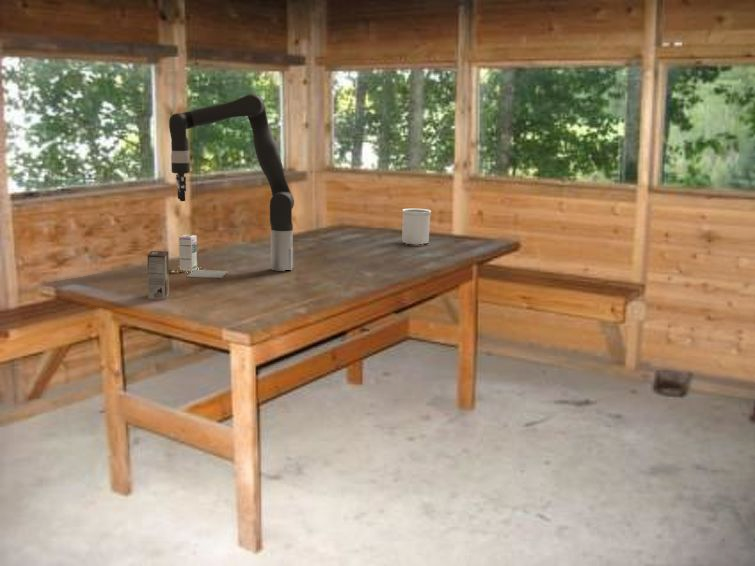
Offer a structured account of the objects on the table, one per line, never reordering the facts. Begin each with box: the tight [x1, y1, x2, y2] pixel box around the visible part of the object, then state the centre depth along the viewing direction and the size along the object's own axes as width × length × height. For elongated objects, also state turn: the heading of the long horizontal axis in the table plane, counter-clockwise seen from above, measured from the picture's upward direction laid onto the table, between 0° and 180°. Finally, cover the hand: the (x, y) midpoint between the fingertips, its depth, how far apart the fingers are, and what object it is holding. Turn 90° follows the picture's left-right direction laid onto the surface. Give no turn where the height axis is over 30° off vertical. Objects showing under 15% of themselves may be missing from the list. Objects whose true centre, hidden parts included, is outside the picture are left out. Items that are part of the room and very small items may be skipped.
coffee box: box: [147, 250, 170, 300], centre depth 315 cm, size 9×6×16 cm
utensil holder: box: [401, 207, 432, 244], centre depth 454 cm, size 15×15×18 cm
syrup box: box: [178, 234, 198, 271], centre depth 365 cm, size 6×6×14 cm
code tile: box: [170, 266, 200, 274], centre depth 366 cm, size 12×12×1 cm
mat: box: [186, 269, 229, 280], centre depth 358 cm, size 14×14×1 cm
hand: (181, 200), depth 369 cm, fingers open, 8 cm apart
